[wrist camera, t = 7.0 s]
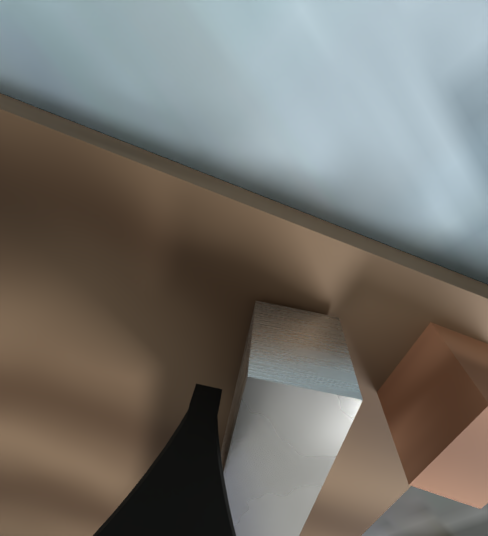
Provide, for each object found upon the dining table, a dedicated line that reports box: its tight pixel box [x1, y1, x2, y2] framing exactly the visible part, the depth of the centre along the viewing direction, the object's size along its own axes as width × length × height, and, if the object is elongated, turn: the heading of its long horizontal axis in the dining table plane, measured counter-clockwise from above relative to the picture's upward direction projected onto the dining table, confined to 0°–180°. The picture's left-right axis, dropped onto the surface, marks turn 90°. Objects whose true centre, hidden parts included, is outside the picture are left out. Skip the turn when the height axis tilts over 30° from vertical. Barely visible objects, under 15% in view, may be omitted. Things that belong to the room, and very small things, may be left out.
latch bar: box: [221, 301, 363, 536], centre depth 11 cm, size 15×3×4 cm, turn 170°
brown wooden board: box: [0, 93, 488, 536], centre depth 13 cm, size 21×20×4 cm
